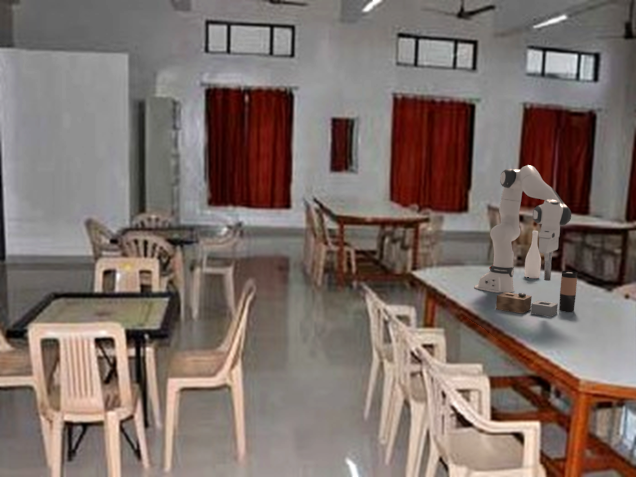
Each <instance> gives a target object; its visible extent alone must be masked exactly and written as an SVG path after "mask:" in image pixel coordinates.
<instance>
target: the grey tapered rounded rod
mask: <svg viewBox="0 0 636 477" xmlns="http://www.w3.org/2000/svg"><path fill="white" fill-rule="evenodd" d="M551 257H553V255H552V252H549V261H545V260H544V271H543V272H544V274H543V275H544V276H543V278H544V279H543V280H544V281H546V282H547V281H549V282H550V281H552V280H551V276H552V259H551Z"/></svg>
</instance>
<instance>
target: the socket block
mask: <svg viewBox="0 0 636 477" xmlns="http://www.w3.org/2000/svg"><path fill="white" fill-rule="evenodd" d="M518 294H519V293H514V292H501V293H499V294H497V295H496V302H495V310H498V311H505V312H511V313H518V314H525V313H527V312H529V311H531V305H532V295H527V294H526V296H525V297H524V298H520V296H518Z"/></svg>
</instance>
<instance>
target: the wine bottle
mask: <svg viewBox="0 0 636 477" xmlns="http://www.w3.org/2000/svg"><path fill="white" fill-rule="evenodd" d="M531 234H532V236H531V238H532V239H531V245H530V246H529V249H528V251H527V254H526V257H525V260H524V261H525V262H524V275H523V276H524V277H525V278H527V277H529V278H528V279H539V278H540V277H541V267H542V266H541V264H542V258H541V253H540V252H539V244H538V241H539V239H538V238H539V231H538V230H532V232H531Z"/></svg>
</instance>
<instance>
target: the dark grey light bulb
mask: <svg viewBox="0 0 636 477" xmlns="http://www.w3.org/2000/svg"><path fill="white" fill-rule="evenodd" d="M517 294H518V296H520V298H524V297H525V296H526V295H527V293H525V292H518V293H517Z"/></svg>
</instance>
